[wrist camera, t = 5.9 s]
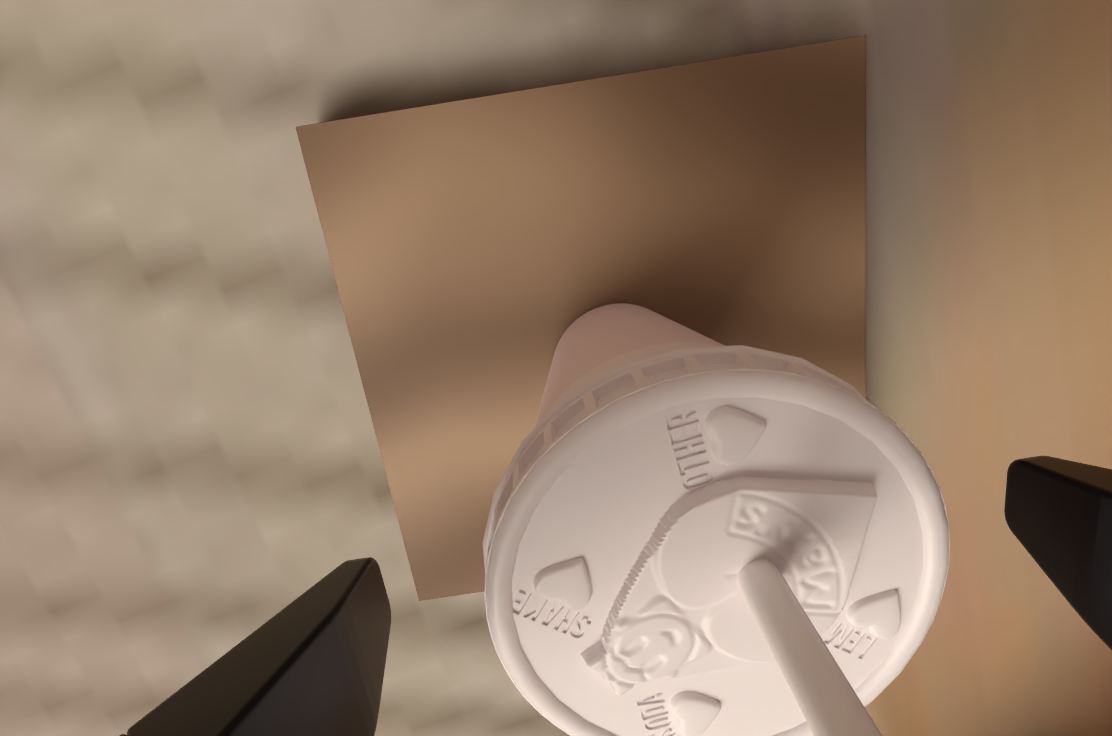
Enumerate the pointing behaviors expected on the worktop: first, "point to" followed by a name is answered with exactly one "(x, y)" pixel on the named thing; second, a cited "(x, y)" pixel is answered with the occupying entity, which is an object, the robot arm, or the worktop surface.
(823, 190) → the walnut board
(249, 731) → the robot arm
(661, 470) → the white cup with straw
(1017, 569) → the worktop surface
